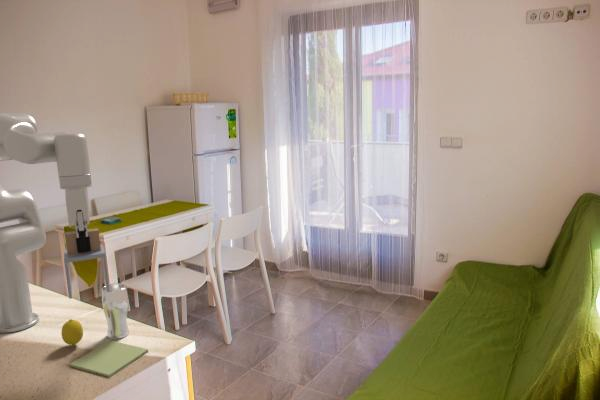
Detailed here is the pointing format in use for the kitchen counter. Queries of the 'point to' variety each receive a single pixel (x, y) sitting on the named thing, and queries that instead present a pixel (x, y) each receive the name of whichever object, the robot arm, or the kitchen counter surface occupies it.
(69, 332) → the lemon
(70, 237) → the cover
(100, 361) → the mat
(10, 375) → the kitchen counter surface
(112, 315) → the beer glass
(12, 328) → the robot arm
